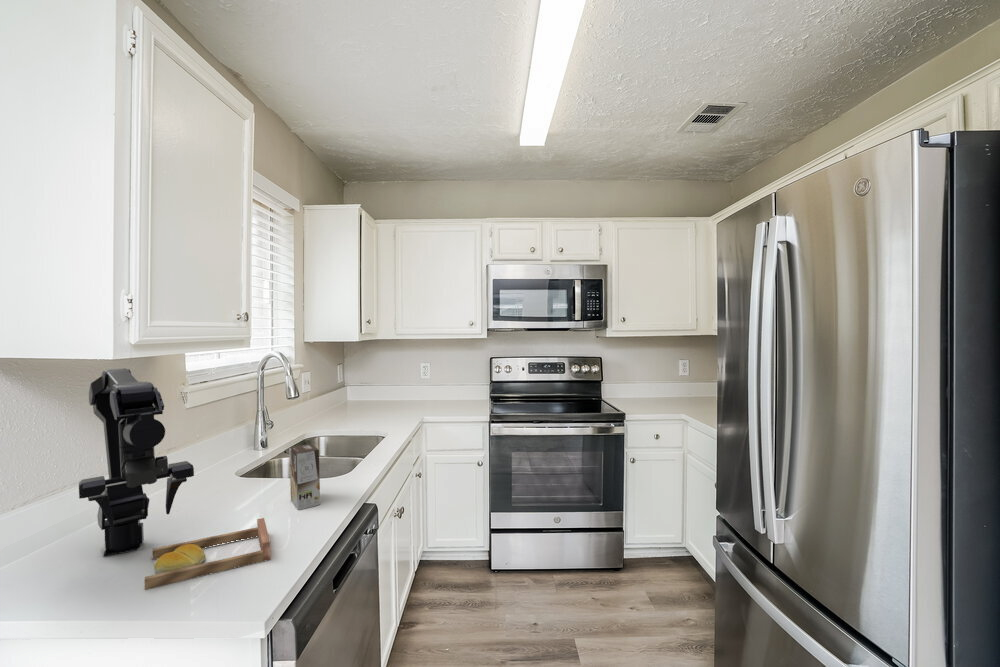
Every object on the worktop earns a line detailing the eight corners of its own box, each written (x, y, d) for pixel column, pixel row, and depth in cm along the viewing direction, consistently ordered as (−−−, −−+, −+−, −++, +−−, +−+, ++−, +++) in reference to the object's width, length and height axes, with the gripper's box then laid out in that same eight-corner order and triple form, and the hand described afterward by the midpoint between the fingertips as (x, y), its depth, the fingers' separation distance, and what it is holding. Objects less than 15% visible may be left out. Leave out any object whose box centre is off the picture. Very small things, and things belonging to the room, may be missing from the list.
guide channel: (144, 589, 95) (144, 569, 95) (153, 557, 108) (152, 539, 108) (270, 559, 107) (270, 541, 106) (264, 533, 120) (264, 517, 120)
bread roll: (146, 574, 102) (145, 555, 101) (187, 554, 110) (187, 537, 110) (172, 581, 98) (171, 562, 98) (213, 561, 107) (212, 543, 107)
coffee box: (321, 505, 138) (320, 449, 138) (297, 510, 134) (296, 453, 134) (312, 495, 145) (310, 443, 145) (289, 500, 142) (288, 446, 141)
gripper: (77, 458, 88) (81, 545, 87) (196, 439, 100) (201, 515, 100) (77, 451, 96) (80, 530, 96) (187, 435, 108) (191, 505, 108)
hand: (140, 520), depth 99 cm, fingers open, 9 cm apart
